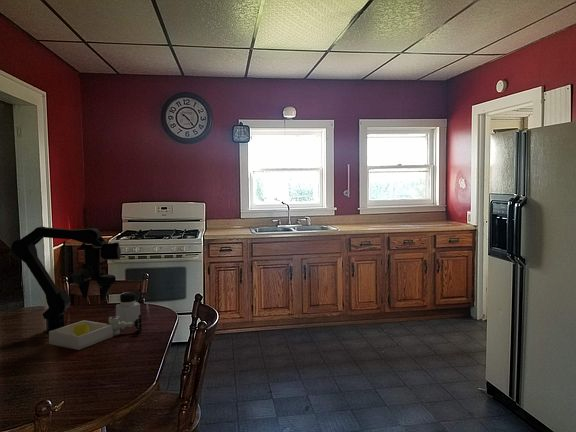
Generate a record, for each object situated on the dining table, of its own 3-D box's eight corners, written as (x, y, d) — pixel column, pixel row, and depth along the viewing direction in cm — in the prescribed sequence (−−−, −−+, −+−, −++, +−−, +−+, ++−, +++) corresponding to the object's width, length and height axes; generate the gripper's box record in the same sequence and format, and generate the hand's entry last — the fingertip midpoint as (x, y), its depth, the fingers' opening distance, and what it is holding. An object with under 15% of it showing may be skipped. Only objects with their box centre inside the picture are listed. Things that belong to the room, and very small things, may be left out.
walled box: (49, 343, 157) (48, 331, 157) (84, 331, 170) (83, 320, 170) (78, 350, 151) (78, 337, 150) (112, 336, 164) (112, 325, 164)
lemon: (72, 338, 161) (71, 323, 162) (88, 335, 164) (87, 320, 165) (75, 340, 156) (74, 325, 156) (91, 337, 159) (90, 323, 159)
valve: (108, 337, 163) (141, 333, 168) (107, 320, 163) (141, 317, 167) (108, 332, 170) (141, 328, 174) (108, 315, 169) (140, 312, 174)
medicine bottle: (140, 320, 185) (140, 292, 184) (126, 324, 179) (125, 295, 178) (130, 317, 189) (129, 290, 188) (115, 321, 183) (114, 293, 182)
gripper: (57, 261, 168) (59, 301, 169) (92, 265, 160) (94, 307, 161) (82, 257, 178) (83, 295, 179) (116, 260, 170) (117, 300, 171)
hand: (93, 299), depth 172 cm, fingers open, 9 cm apart
